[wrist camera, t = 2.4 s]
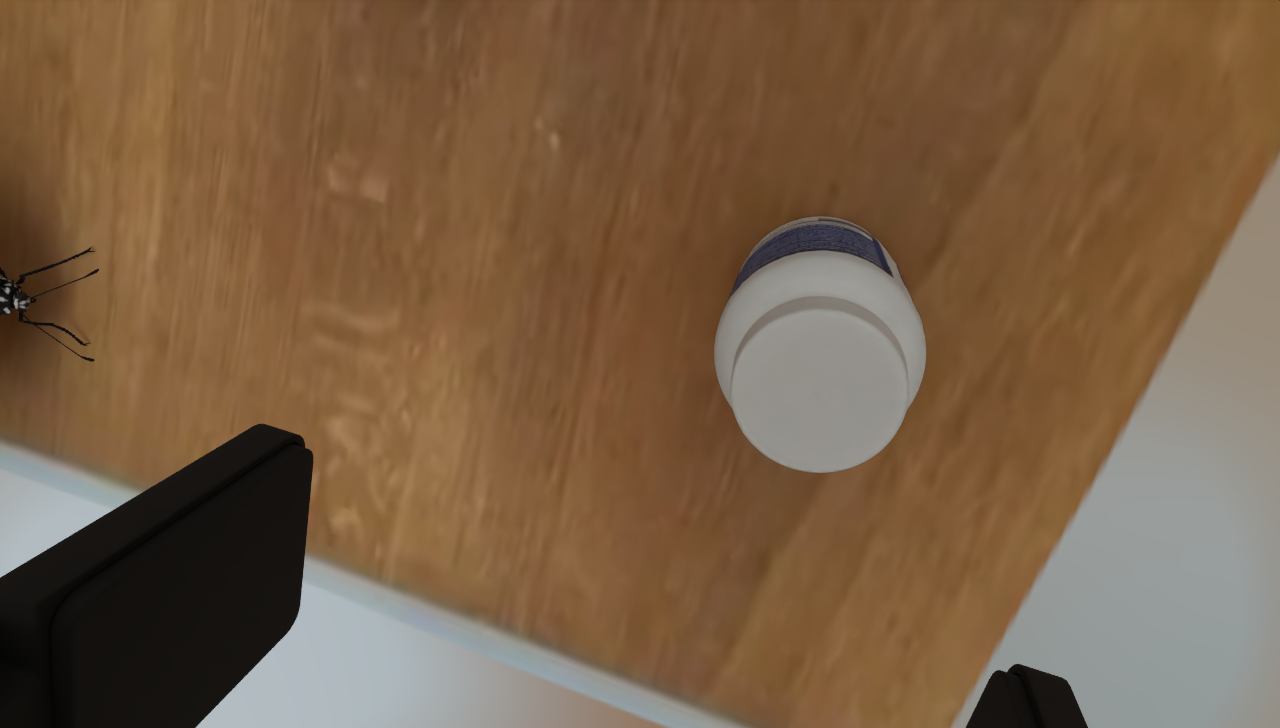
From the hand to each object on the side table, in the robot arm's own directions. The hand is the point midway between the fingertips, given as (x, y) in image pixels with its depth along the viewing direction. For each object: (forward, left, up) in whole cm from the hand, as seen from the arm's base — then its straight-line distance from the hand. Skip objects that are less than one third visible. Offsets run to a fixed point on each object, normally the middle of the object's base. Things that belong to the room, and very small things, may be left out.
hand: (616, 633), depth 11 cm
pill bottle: (-3, -1, -19) cm, 19 cm away
